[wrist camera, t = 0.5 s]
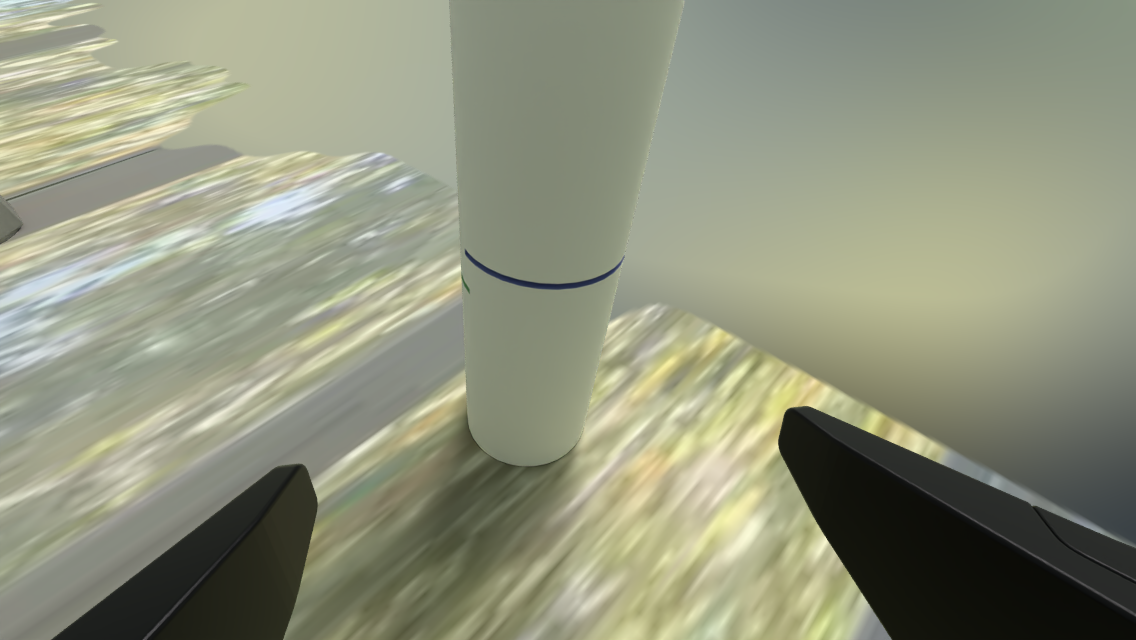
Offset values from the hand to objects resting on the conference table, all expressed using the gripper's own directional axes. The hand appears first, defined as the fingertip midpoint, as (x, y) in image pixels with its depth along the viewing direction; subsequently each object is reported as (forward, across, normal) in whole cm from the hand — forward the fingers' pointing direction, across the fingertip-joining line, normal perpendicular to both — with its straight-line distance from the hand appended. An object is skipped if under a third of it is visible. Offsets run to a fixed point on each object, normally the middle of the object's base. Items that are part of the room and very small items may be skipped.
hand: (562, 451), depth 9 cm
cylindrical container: (+16, 0, +12) cm, 20 cm away
